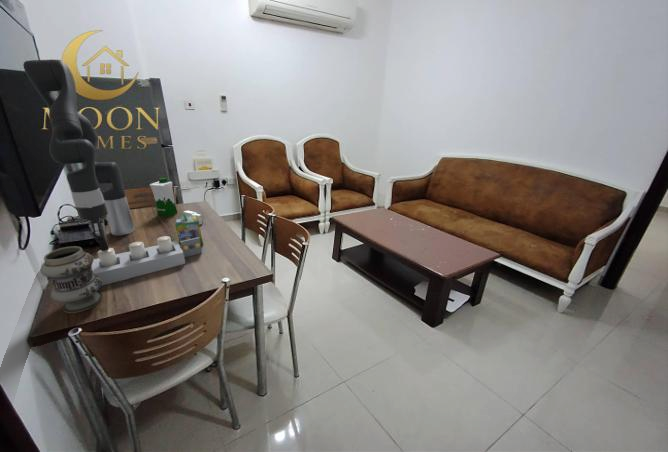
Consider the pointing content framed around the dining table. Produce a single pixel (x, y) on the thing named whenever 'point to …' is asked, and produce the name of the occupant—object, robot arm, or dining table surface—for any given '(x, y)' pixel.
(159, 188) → the milk carton
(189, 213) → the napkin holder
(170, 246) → the button
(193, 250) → the card
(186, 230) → the chalk box
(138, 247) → the button
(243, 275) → the dining table surface
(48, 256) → the apothecary jar
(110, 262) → the button
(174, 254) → the console
